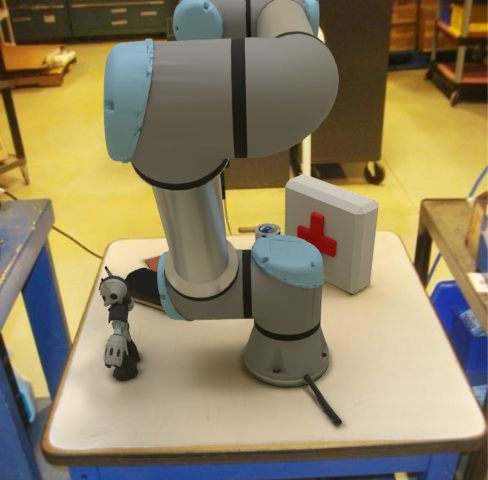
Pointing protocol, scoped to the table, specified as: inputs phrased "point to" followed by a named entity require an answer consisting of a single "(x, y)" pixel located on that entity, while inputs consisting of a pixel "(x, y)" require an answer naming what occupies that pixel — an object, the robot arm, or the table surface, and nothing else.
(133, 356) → the robot
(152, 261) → the pad
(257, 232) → the beverage can
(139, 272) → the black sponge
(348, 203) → the bevelled white case
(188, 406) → the table surface
